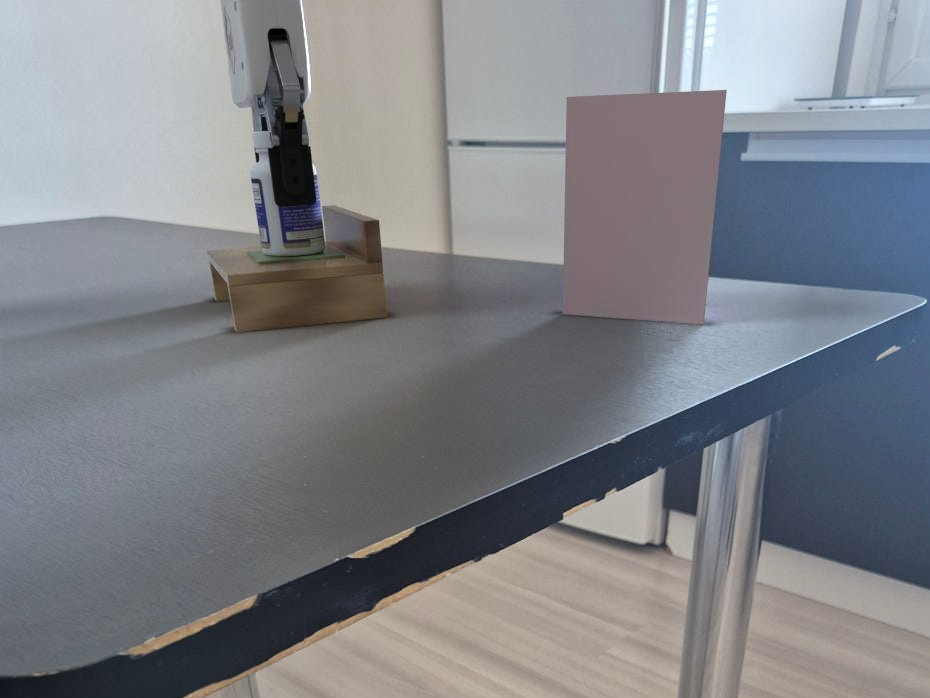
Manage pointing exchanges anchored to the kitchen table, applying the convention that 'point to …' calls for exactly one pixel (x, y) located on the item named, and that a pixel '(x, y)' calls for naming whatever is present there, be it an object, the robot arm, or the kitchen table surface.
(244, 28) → the robot arm
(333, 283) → the shelf
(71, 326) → the kitchen table surface
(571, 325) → the kitchen table surface
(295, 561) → the kitchen table surface
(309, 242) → the pill bottle
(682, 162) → the greeting card
